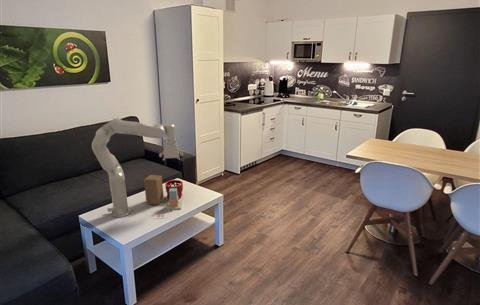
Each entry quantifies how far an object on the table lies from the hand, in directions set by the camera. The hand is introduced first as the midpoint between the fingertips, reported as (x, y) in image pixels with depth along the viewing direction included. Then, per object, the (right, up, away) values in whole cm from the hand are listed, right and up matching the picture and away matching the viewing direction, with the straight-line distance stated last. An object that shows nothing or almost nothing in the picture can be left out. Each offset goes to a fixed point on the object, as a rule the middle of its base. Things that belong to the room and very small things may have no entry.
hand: (172, 164), depth 225 cm
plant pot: (-2, -26, +19) cm, 33 cm away
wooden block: (-15, -29, +11) cm, 34 cm away
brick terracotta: (+1, -29, +4) cm, 30 cm away
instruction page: (-6, -35, -10) cm, 37 cm away
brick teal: (+1, -24, +2) cm, 24 cm away
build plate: (+1, -30, +4) cm, 31 cm away
